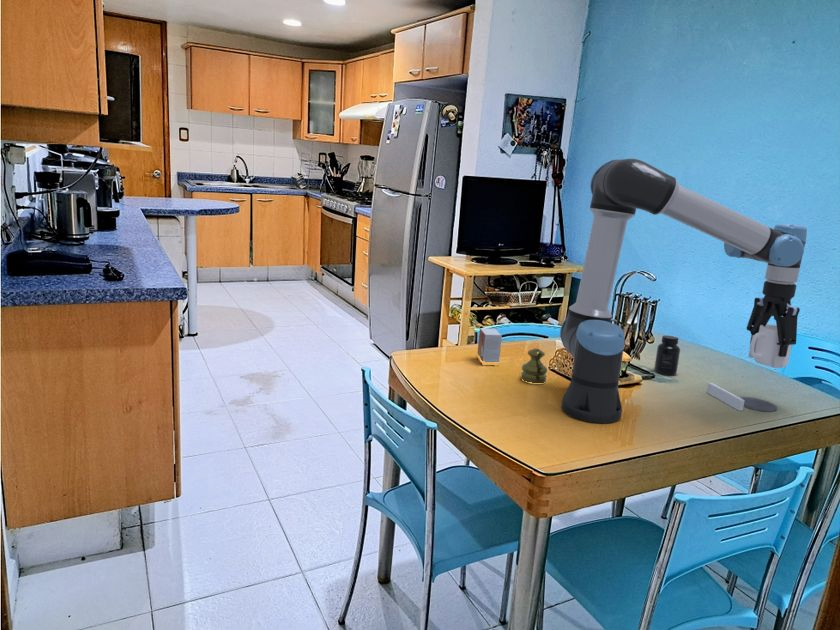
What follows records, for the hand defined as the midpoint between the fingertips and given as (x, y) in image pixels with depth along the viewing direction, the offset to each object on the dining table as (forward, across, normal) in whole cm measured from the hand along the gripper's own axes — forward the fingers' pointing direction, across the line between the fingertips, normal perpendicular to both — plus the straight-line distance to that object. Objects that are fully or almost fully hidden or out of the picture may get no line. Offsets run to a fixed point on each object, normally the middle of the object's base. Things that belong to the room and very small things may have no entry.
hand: (764, 362), depth 163 cm
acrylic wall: (+13, +3, +8) cm, 15 cm away
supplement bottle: (+13, +28, +11) cm, 33 cm away
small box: (+13, +38, +68) cm, 79 cm away
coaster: (+13, 0, 0) cm, 13 cm away
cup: (0, 0, 0) cm, 1 cm away
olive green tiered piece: (+13, +20, +59) cm, 64 cm away
